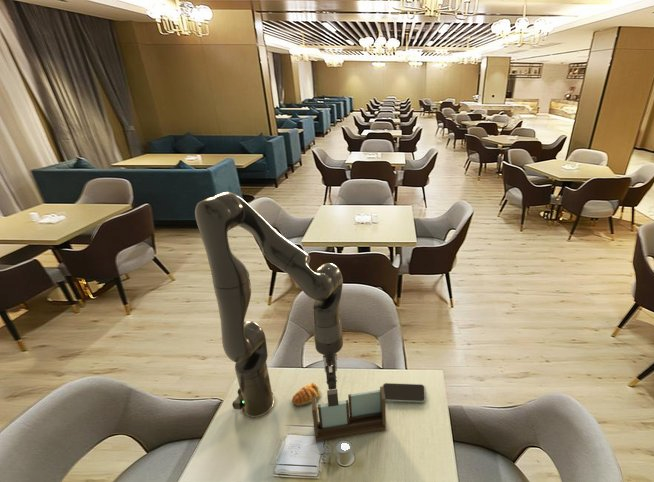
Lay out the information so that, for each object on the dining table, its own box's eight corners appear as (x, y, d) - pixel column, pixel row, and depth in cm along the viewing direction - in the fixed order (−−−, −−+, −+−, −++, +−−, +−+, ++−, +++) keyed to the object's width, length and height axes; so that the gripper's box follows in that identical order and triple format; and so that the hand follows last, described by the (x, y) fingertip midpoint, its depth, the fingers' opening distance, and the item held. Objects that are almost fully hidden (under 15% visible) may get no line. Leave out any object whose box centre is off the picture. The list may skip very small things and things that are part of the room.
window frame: (315, 425, 114) (312, 395, 108) (382, 414, 118) (382, 385, 112) (315, 442, 109) (311, 411, 103) (385, 430, 113) (385, 400, 107)
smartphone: (425, 401, 122) (381, 399, 122) (424, 403, 122) (381, 401, 122) (424, 384, 129) (383, 382, 129) (424, 386, 129) (383, 384, 129)
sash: (320, 426, 112) (316, 391, 105) (349, 421, 113) (347, 387, 107) (320, 431, 110) (316, 396, 104) (350, 426, 112) (347, 392, 105)
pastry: (297, 411, 118) (296, 403, 117) (289, 398, 123) (288, 390, 122) (322, 397, 124) (321, 389, 122) (313, 385, 129) (312, 377, 127)
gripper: (314, 318, 102) (319, 361, 108) (313, 353, 89) (318, 398, 96) (340, 315, 103) (343, 358, 110) (343, 349, 90) (346, 394, 97)
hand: (332, 377), depth 103 cm, fingers open, 8 cm apart
